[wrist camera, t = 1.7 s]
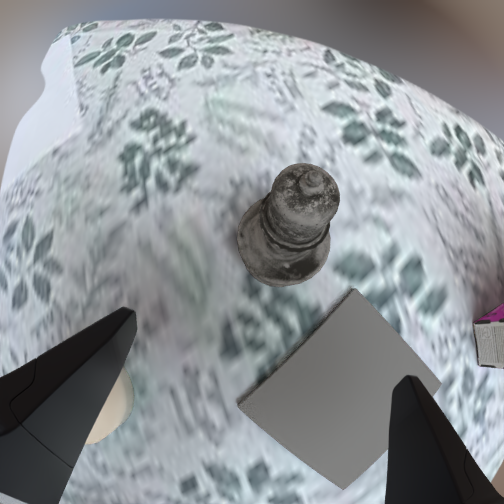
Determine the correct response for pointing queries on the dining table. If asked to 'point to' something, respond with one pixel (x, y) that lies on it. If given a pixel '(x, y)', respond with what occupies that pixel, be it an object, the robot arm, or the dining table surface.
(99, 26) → the dining table surface
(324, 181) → the grey chess piece
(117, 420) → the cream rounded squat cylinder
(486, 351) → the candy bar box
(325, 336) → the mat
